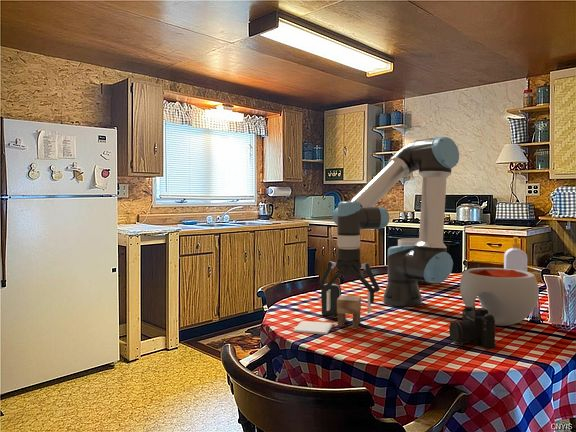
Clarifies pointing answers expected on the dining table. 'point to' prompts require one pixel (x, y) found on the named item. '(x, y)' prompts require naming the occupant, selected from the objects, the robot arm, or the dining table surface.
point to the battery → (331, 300)
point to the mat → (313, 327)
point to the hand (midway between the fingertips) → (348, 311)
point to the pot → (501, 292)
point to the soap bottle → (515, 257)
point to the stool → (348, 309)
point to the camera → (474, 328)
